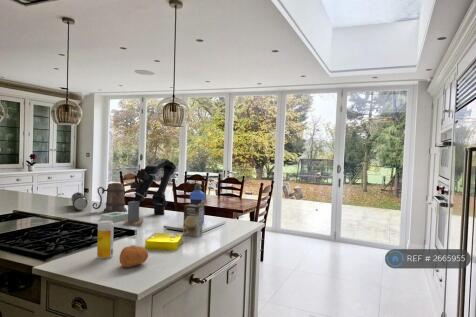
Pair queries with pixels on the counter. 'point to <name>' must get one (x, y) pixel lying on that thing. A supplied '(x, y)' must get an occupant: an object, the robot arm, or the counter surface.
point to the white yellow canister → (105, 239)
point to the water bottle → (197, 197)
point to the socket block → (114, 216)
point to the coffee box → (193, 220)
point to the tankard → (113, 198)
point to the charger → (133, 211)
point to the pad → (133, 223)
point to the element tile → (163, 241)
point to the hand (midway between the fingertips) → (134, 205)
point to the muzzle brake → (79, 201)
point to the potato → (133, 256)
